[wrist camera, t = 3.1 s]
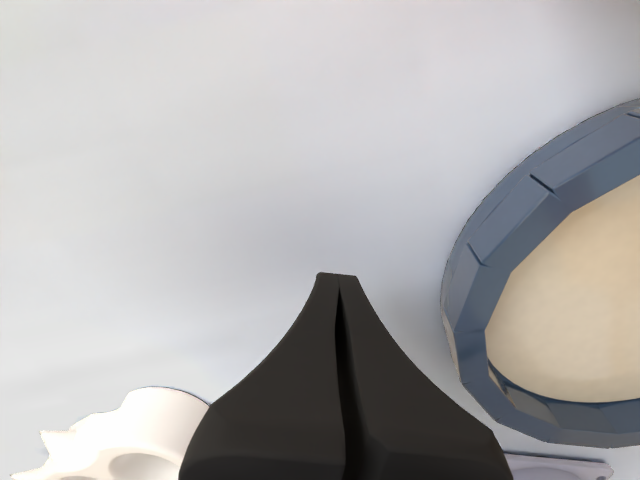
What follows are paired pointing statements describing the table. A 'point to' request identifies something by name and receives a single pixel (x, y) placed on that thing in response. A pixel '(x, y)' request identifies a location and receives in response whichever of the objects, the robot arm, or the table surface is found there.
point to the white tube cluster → (124, 440)
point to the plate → (555, 289)
